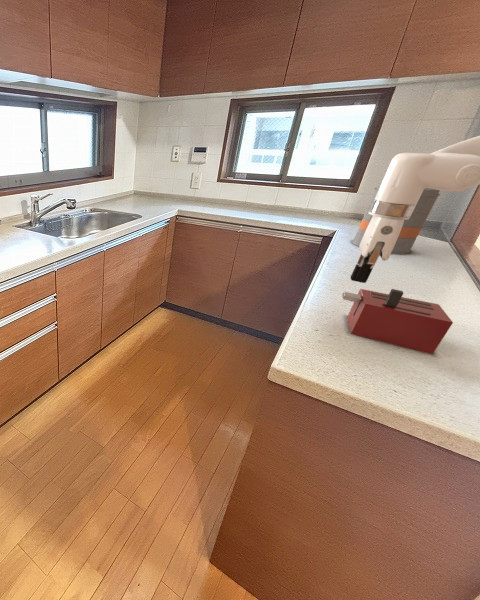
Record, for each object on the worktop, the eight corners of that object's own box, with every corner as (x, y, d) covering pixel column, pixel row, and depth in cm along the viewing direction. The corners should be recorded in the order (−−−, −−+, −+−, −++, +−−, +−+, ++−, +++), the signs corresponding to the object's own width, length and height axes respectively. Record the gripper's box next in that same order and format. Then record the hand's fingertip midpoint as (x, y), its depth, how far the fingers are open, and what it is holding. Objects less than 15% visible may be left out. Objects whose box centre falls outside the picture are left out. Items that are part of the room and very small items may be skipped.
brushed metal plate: (358, 298, 88) (360, 294, 87) (359, 303, 85) (361, 298, 85) (342, 295, 89) (343, 291, 89) (342, 299, 87) (344, 295, 87)
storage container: (368, 251, 150) (404, 171, 134) (342, 238, 170) (371, 166, 154) (423, 255, 147) (467, 173, 131) (390, 241, 166) (425, 168, 150)
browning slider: (394, 305, 81) (402, 290, 79) (395, 307, 79) (403, 293, 78) (384, 303, 82) (391, 288, 80) (385, 305, 80) (392, 291, 79)
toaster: (420, 333, 86) (439, 303, 82) (432, 354, 78) (453, 322, 74) (346, 316, 94) (360, 288, 90) (350, 333, 86) (365, 303, 81)
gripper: (420, 218, 69) (380, 294, 78) (404, 207, 80) (371, 275, 89) (375, 212, 73) (342, 286, 81) (366, 203, 84) (338, 269, 92)
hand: (357, 280), depth 85 cm, fingers closed
